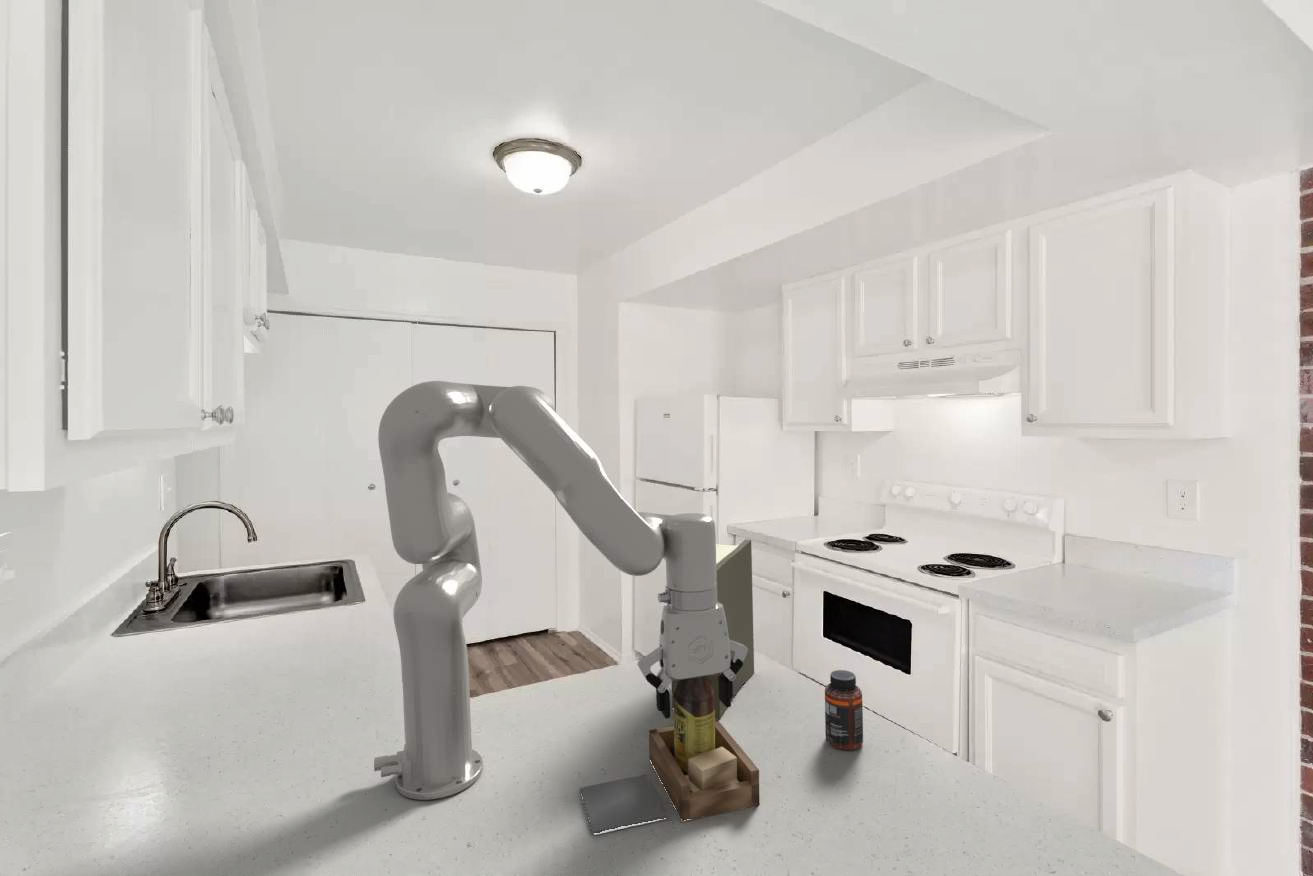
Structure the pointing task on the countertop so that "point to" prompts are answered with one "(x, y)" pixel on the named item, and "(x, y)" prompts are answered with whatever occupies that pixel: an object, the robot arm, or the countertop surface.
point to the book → (734, 611)
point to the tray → (710, 798)
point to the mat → (621, 803)
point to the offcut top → (712, 768)
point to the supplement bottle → (843, 711)
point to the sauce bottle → (693, 720)
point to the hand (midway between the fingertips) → (695, 708)
